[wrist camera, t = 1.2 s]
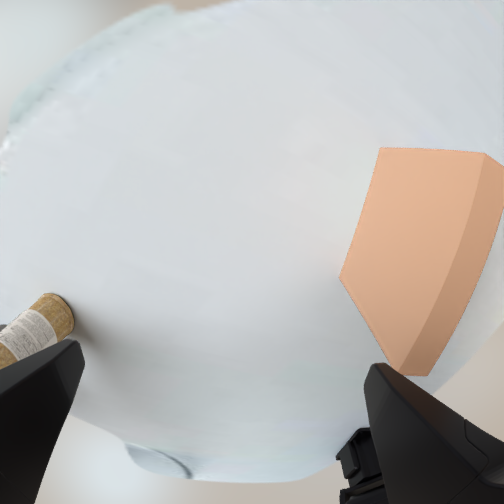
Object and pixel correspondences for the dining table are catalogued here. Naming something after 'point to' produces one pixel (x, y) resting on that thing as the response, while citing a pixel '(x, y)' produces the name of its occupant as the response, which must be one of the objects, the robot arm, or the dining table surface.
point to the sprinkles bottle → (35, 329)
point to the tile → (422, 248)
